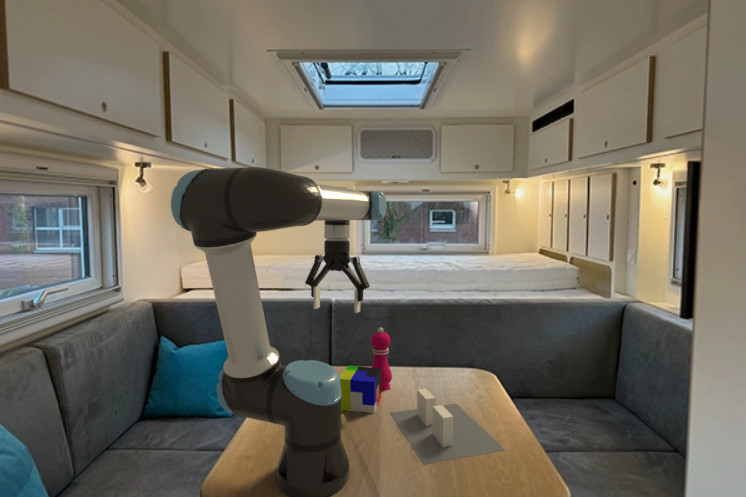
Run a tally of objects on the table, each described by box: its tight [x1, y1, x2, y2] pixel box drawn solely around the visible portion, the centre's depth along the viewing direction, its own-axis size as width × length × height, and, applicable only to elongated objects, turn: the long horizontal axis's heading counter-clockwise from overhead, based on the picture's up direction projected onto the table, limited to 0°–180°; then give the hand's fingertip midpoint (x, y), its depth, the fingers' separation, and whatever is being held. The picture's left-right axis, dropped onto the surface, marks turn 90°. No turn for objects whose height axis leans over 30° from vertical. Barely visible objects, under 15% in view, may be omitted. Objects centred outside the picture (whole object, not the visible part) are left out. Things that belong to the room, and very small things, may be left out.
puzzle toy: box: [339, 365, 382, 415], centre depth 118 cm, size 10×10×10 cm
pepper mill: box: [370, 327, 393, 392], centre depth 129 cm, size 7×7×20 cm
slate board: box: [389, 403, 506, 465], centre depth 104 cm, size 24×20×1 cm
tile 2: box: [432, 404, 453, 447], centre depth 100 cm, size 6×3×7 cm, turn 16°
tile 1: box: [416, 388, 436, 426], centre depth 109 cm, size 6×3×7 cm, turn 16°
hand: (336, 310), depth 126 cm, fingers open, 13 cm apart
